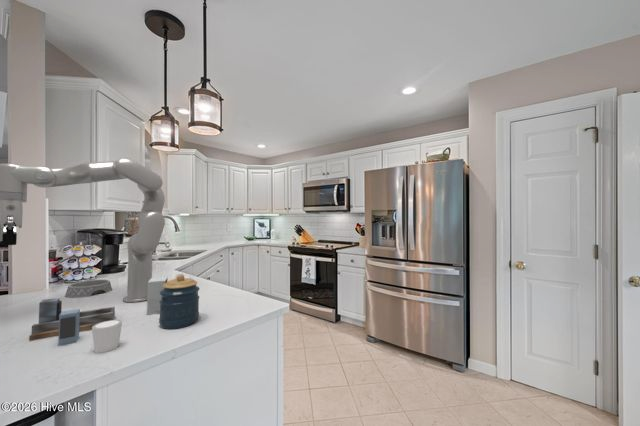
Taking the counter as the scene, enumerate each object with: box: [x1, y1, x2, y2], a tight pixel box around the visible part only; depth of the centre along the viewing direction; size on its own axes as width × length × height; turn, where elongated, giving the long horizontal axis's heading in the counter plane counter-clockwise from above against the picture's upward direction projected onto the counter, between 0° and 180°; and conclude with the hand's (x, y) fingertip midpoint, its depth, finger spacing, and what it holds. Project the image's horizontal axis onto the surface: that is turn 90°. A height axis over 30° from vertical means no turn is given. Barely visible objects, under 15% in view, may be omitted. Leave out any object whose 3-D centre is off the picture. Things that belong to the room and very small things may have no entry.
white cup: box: [91, 319, 123, 354], centre depth 75 cm, size 7×7×7 cm
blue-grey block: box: [57, 308, 81, 346], centre depth 79 cm, size 5×4×9 cm
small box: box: [146, 276, 168, 315], centre depth 106 cm, size 8×6×13 cm
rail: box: [28, 297, 116, 342], centre depth 90 cm, size 20×12×10 cm, turn 126°
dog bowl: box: [64, 279, 113, 299], centre depth 132 cm, size 17×18×5 cm
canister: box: [158, 273, 200, 330], centre depth 94 cm, size 13×13×18 cm
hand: (9, 244), depth 93 cm, fingers open, 9 cm apart
